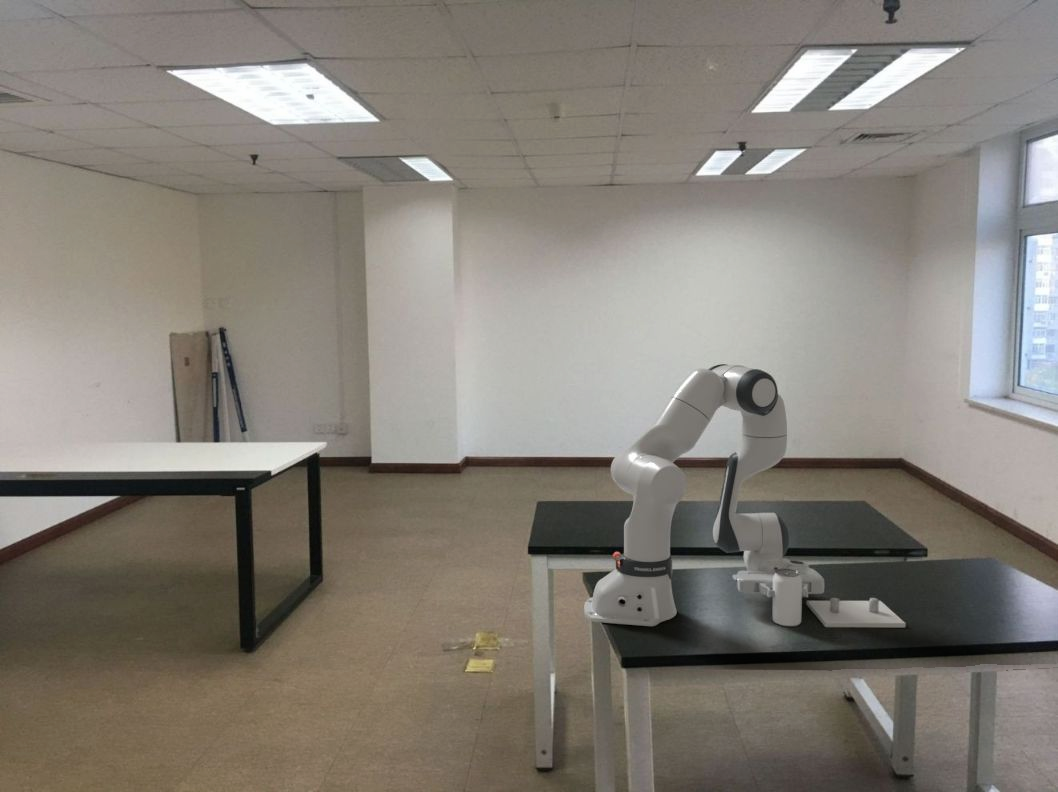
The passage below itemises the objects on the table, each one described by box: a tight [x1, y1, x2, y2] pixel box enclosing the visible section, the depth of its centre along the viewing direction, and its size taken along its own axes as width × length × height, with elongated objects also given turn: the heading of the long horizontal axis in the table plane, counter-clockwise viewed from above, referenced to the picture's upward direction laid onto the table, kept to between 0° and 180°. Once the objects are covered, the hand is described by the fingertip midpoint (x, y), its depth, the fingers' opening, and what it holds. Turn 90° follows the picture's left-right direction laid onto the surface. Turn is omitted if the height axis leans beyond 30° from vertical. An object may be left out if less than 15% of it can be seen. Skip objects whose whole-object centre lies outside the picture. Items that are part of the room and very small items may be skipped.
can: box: [771, 568, 803, 628], centre depth 179 cm, size 6×6×12 cm
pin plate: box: [806, 597, 906, 628], centre depth 182 cm, size 18×14×4 cm
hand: (788, 594), depth 178 cm, fingers closed on can, 6 cm apart
